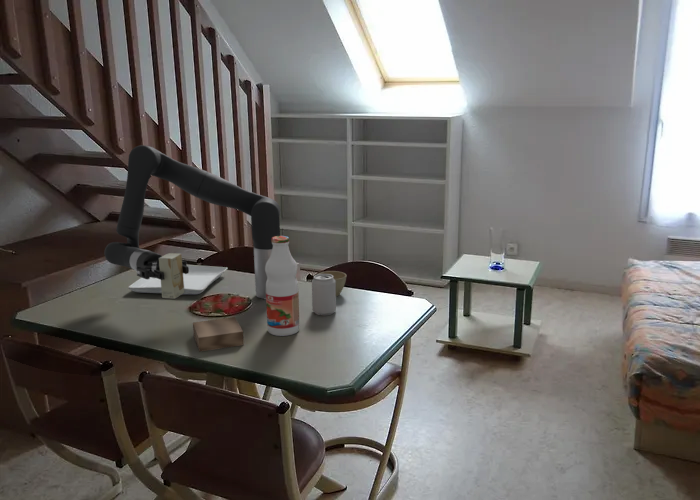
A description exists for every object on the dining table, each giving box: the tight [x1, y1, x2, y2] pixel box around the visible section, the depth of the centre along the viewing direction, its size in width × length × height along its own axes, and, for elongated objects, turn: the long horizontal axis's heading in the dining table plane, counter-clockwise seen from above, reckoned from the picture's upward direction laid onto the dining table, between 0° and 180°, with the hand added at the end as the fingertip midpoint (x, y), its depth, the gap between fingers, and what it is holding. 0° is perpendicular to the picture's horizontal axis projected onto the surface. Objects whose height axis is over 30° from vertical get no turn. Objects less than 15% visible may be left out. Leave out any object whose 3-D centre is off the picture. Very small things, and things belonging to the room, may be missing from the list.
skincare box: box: [159, 252, 184, 299], centre depth 179 cm, size 6×4×12 cm
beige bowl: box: [316, 270, 347, 298], centre depth 209 cm, size 10×10×7 cm
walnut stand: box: [192, 316, 245, 352], centre depth 172 cm, size 12×12×4 cm
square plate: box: [127, 264, 228, 295], centre depth 222 cm, size 27×27×4 cm
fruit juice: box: [265, 235, 301, 337], centre depth 176 cm, size 9×9×28 cm
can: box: [311, 273, 337, 316], centre depth 192 cm, size 8×8×12 cm
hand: (175, 273), depth 178 cm, fingers closed on skincare box, 7 cm apart
